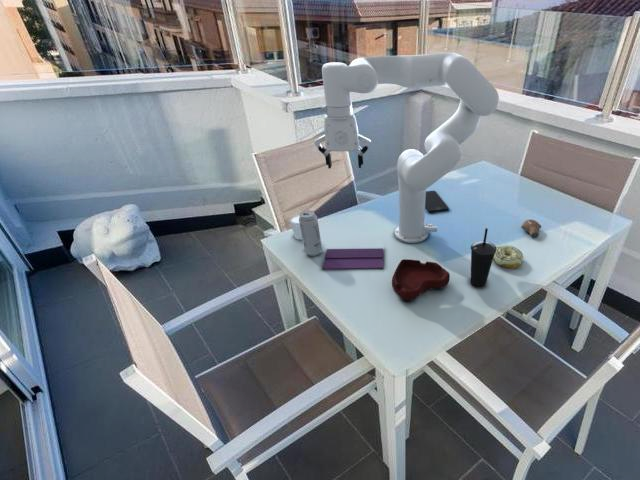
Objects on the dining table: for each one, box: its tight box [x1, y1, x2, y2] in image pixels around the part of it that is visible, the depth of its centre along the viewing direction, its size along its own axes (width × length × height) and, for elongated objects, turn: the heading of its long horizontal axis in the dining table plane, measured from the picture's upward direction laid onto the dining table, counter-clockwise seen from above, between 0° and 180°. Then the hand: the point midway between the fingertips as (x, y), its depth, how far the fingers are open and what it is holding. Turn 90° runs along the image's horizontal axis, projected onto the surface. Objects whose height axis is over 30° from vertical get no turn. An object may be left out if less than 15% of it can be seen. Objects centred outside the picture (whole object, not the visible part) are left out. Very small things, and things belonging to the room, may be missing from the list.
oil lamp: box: [520, 218, 542, 238], centre depth 147 cm, size 9×4×8 cm
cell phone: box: [425, 190, 450, 214], centre depth 166 cm, size 9×18×1 cm, turn 17°
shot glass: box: [289, 214, 303, 241], centre depth 142 cm, size 7×7×7 cm
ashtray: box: [391, 258, 451, 303], centre depth 120 cm, size 18×16×5 cm
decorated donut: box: [493, 244, 524, 270], centre depth 132 cm, size 10×11×4 cm
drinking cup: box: [470, 227, 497, 289], centre depth 117 cm, size 8×8×20 cm
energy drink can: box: [299, 210, 323, 257], centre depth 131 cm, size 6×6×15 cm
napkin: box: [322, 248, 384, 270], centre depth 132 cm, size 20×11×1 cm, turn 92°
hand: (345, 166), depth 124 cm, fingers open, 9 cm apart
